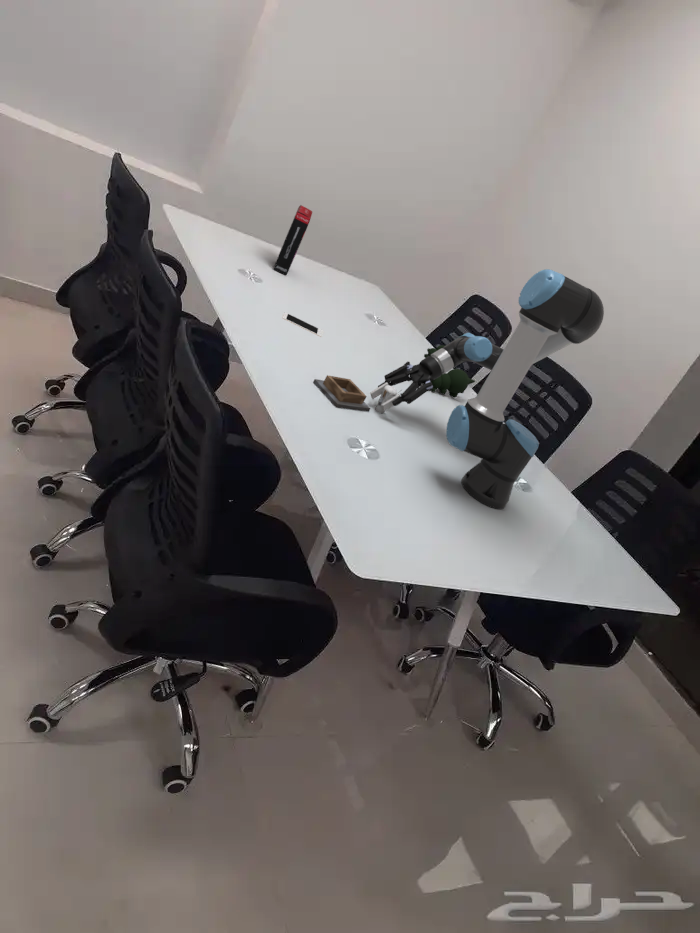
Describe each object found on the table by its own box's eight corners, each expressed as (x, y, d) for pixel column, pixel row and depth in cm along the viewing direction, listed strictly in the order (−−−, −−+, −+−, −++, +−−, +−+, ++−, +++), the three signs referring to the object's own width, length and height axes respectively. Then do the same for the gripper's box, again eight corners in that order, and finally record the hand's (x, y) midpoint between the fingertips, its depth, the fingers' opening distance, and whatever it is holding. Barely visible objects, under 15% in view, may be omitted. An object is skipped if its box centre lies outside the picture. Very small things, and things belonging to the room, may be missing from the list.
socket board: (368, 411, 227) (374, 400, 225) (335, 407, 217) (341, 395, 216) (345, 387, 235) (351, 376, 234) (313, 382, 226) (318, 370, 224)
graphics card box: (286, 276, 314) (312, 218, 302) (271, 269, 312) (297, 210, 300) (289, 267, 329) (314, 211, 317) (275, 260, 327) (299, 204, 315)
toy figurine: (416, 392, 270) (470, 405, 281) (437, 348, 261) (492, 363, 272) (407, 380, 277) (461, 393, 288) (428, 337, 268) (482, 351, 279)
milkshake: (386, 417, 230) (401, 391, 225) (371, 409, 230) (386, 383, 225) (388, 413, 234) (403, 387, 230) (374, 405, 234) (388, 379, 229)
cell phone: (321, 338, 267) (322, 336, 267) (281, 319, 264) (282, 317, 264) (322, 331, 274) (323, 330, 274) (283, 313, 271) (284, 311, 271)
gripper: (455, 389, 229) (395, 426, 225) (420, 357, 241) (363, 393, 236) (452, 372, 223) (392, 411, 219) (417, 341, 235) (359, 377, 231)
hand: (377, 401), depth 228 cm, fingers open, 6 cm apart
